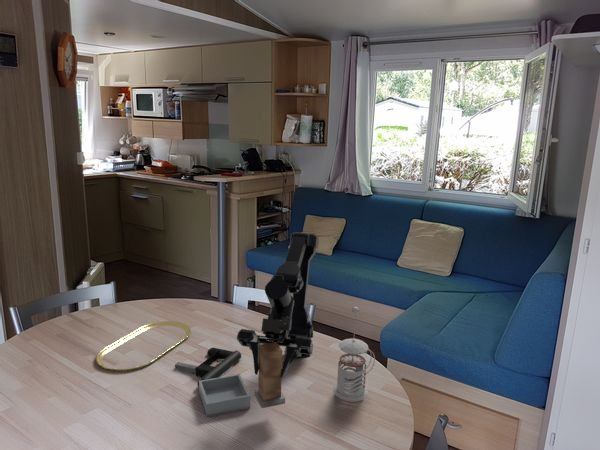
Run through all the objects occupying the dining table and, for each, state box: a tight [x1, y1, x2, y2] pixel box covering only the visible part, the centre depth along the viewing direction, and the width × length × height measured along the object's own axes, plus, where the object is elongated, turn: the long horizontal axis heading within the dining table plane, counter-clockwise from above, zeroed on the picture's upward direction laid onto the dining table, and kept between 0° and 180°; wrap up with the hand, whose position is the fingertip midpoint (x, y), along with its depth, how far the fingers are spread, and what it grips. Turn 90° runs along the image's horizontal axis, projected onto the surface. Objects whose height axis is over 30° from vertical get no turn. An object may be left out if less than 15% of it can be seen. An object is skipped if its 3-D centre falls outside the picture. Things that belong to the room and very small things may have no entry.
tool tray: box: [198, 373, 251, 418], centre depth 121 cm, size 11×11×4 cm
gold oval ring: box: [95, 320, 192, 372], centre depth 150 cm, size 19×35×2 cm, turn 159°
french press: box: [332, 306, 376, 403], centre depth 126 cm, size 10×12×25 cm
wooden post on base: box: [254, 342, 286, 409], centre depth 112 cm, size 6×6×14 cm
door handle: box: [174, 347, 242, 388], centre depth 137 cm, size 3×20×16 cm
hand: (268, 376), depth 111 cm, fingers closed on wooden post on base, 6 cm apart
